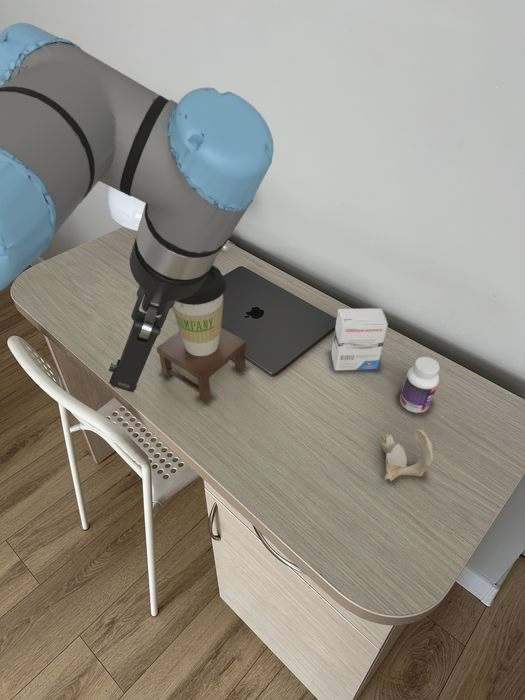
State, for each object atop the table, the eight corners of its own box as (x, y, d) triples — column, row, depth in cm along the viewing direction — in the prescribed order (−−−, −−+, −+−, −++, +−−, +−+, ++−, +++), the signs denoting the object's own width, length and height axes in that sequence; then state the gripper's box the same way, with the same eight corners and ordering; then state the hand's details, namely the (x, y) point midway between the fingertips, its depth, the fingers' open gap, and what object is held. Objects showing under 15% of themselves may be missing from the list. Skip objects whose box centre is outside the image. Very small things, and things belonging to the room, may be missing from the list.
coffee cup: (163, 343, 89) (152, 275, 79) (205, 319, 94) (199, 252, 84) (197, 371, 84) (190, 303, 74) (239, 344, 89) (238, 277, 79)
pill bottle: (428, 417, 87) (442, 379, 80) (397, 409, 88) (409, 371, 81) (430, 395, 90) (445, 357, 84) (401, 388, 91) (413, 350, 85)
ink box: (372, 352, 98) (383, 306, 90) (377, 370, 95) (389, 324, 87) (330, 353, 98) (337, 307, 90) (334, 371, 94) (341, 325, 86)
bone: (357, 463, 78) (390, 413, 74) (373, 453, 83) (404, 407, 79) (402, 500, 74) (439, 449, 70) (416, 488, 79) (450, 440, 75)
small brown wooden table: (161, 374, 93) (156, 347, 88) (203, 342, 100) (200, 315, 95) (205, 403, 88) (202, 377, 83) (246, 367, 95) (246, 341, 90)
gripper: (181, 379, 41) (137, 435, 59) (238, 172, 53) (186, 271, 71) (92, 350, 39) (74, 417, 57) (172, 141, 51) (136, 251, 69)
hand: (136, 337), depth 64 cm, fingers open, 13 cm apart
